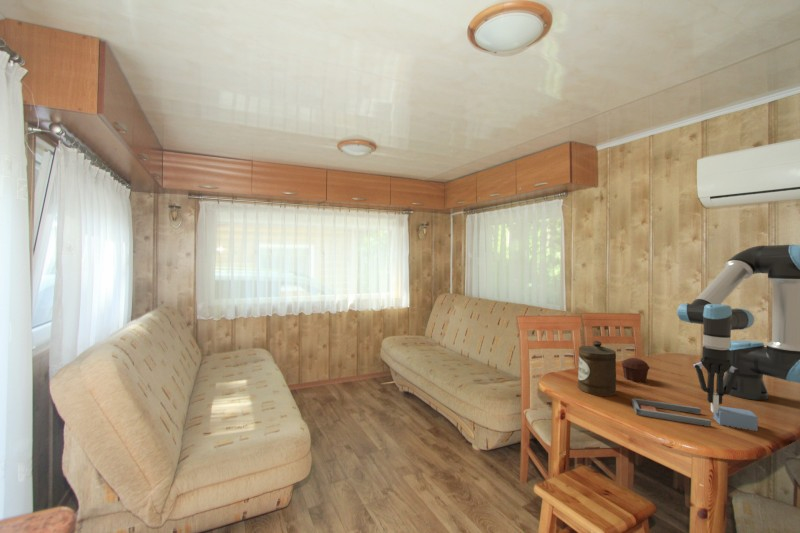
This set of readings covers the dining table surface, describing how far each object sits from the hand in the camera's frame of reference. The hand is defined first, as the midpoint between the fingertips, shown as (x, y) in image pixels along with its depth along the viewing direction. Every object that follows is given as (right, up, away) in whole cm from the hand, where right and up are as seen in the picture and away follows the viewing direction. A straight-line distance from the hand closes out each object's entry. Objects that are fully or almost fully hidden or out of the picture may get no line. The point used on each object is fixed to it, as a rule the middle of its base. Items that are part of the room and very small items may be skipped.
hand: (714, 411), depth 130 cm
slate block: (+5, -4, -2) cm, 7 cm away
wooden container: (-26, -3, +30) cm, 40 cm away
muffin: (+1, -3, +45) cm, 45 cm away
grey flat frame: (-12, -3, +6) cm, 14 cm away
